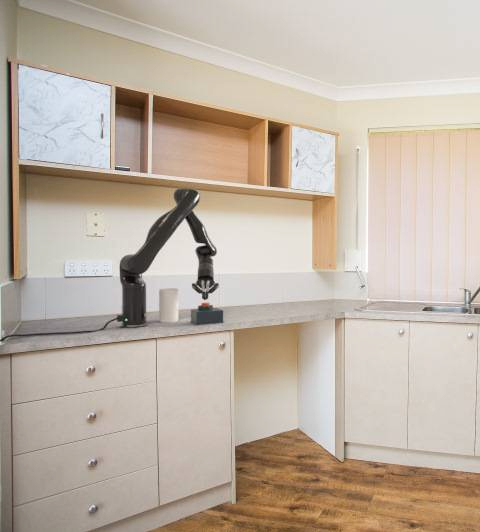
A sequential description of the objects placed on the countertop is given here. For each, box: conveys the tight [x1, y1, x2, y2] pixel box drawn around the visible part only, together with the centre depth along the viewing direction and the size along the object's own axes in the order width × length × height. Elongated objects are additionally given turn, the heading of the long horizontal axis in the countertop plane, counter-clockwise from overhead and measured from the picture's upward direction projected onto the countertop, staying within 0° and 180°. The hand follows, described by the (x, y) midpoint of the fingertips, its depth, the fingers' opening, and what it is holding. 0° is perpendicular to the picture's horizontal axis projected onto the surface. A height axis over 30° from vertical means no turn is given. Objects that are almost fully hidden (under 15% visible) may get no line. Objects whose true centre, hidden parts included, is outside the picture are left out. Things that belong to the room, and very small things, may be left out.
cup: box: [158, 288, 179, 323], centre depth 195 cm, size 8×8×16 cm
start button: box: [200, 302, 211, 306], centre depth 195 cm, size 4×4×2 cm
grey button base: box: [190, 304, 224, 326], centre depth 194 cm, size 12×12×8 cm
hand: (205, 298), depth 195 cm, fingers closed
